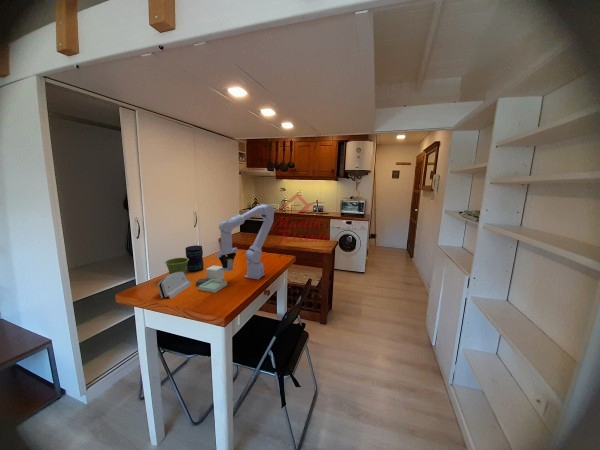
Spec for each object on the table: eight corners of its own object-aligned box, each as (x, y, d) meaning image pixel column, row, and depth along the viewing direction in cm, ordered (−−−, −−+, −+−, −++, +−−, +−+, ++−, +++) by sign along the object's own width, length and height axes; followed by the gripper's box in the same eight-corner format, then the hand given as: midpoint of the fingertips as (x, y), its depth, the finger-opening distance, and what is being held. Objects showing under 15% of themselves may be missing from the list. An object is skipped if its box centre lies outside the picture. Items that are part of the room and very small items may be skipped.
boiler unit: (224, 278, 131) (223, 266, 129) (217, 282, 125) (216, 270, 124) (212, 276, 133) (211, 265, 132) (205, 280, 127) (204, 268, 126)
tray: (227, 284, 121) (227, 281, 121) (214, 293, 112) (214, 289, 112) (212, 282, 125) (211, 278, 124) (198, 290, 115) (198, 286, 115)
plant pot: (174, 285, 120) (173, 265, 119) (162, 280, 126) (160, 261, 124) (194, 277, 131) (193, 259, 129) (182, 273, 136) (180, 256, 134)
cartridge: (233, 269, 126) (232, 258, 124) (228, 271, 122) (227, 260, 121) (227, 268, 127) (227, 257, 126) (222, 270, 124) (222, 259, 123)
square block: (208, 282, 125) (208, 278, 125) (205, 286, 120) (205, 282, 120) (200, 282, 125) (199, 278, 125) (196, 286, 120) (195, 282, 120)
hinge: (170, 299, 106) (161, 280, 105) (162, 301, 107) (153, 282, 106) (191, 284, 122) (184, 267, 121) (184, 286, 123) (177, 269, 122)
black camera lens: (206, 267, 148) (205, 245, 145) (199, 272, 138) (198, 249, 136) (191, 267, 148) (190, 245, 145) (183, 272, 138) (182, 249, 136)
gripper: (222, 247, 114) (223, 272, 116) (241, 241, 127) (241, 263, 129) (212, 245, 117) (213, 270, 119) (231, 239, 130) (232, 261, 132)
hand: (227, 266), depth 124 cm, fingers closed on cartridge, 4 cm apart
